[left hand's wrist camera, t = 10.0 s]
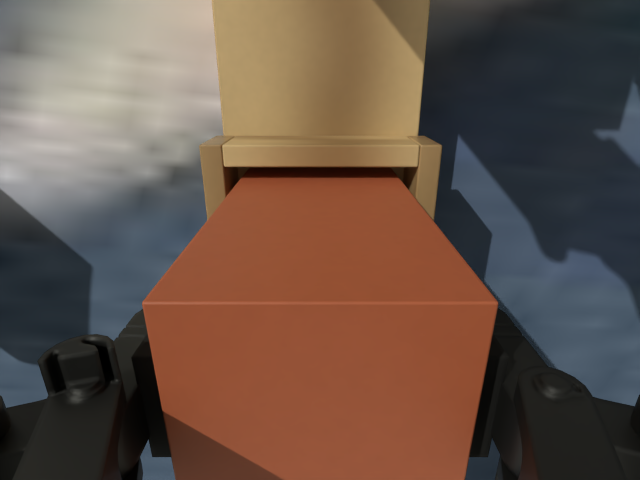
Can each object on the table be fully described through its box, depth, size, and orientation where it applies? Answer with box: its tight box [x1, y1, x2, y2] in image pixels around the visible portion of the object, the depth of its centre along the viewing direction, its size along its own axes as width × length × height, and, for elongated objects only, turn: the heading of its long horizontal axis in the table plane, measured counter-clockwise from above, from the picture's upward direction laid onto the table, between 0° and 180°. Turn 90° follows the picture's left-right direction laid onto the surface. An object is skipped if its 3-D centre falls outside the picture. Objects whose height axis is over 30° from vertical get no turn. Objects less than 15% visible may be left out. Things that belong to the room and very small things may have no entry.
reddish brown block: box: [142, 168, 498, 480], centre depth 13 cm, size 6×6×11 cm
